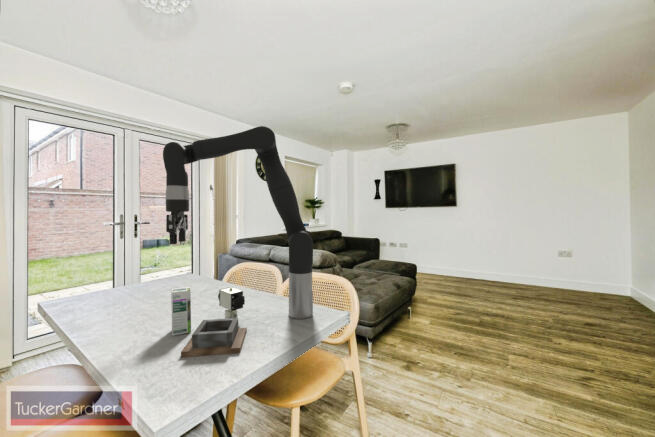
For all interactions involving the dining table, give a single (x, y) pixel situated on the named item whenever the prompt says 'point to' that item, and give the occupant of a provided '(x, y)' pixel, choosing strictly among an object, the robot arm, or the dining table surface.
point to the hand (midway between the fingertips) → (178, 242)
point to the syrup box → (181, 311)
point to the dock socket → (215, 338)
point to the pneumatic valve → (231, 301)
